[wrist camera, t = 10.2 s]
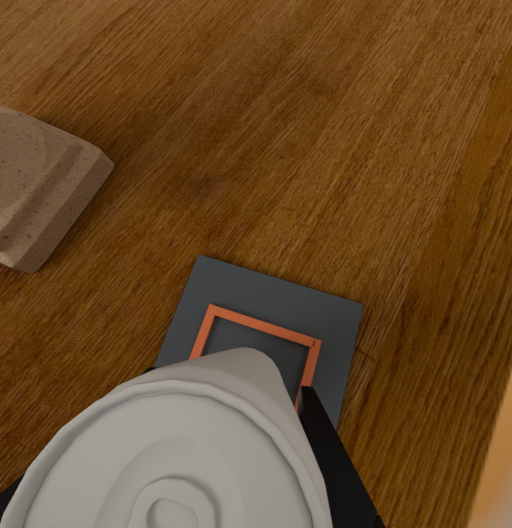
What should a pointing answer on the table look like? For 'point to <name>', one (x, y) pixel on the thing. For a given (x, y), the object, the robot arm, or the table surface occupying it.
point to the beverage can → (180, 455)
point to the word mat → (267, 327)
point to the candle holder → (42, 186)
